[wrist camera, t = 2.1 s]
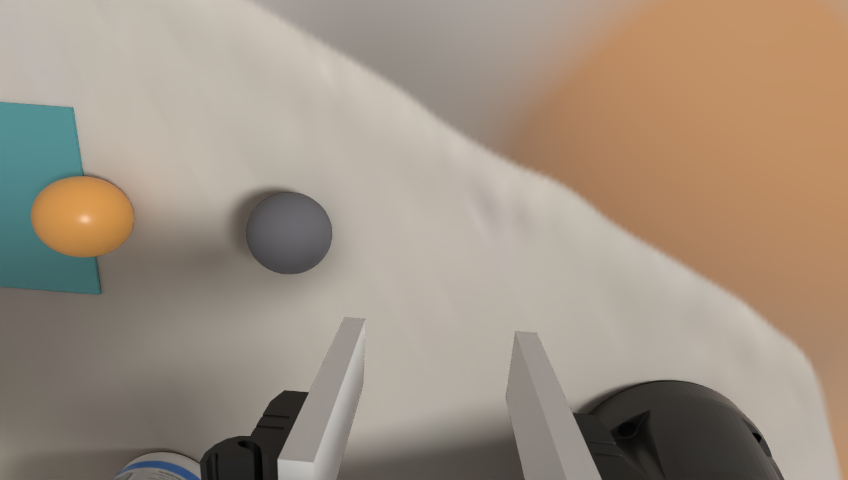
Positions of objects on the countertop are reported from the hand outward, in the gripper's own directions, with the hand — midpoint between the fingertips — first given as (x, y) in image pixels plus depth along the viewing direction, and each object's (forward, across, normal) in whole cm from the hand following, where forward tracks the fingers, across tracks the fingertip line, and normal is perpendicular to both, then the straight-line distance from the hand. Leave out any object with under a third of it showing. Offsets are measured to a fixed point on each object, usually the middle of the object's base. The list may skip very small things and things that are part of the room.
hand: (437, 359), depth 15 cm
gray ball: (+14, +10, 0) cm, 17 cm away
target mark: (+17, +33, 0) cm, 37 cm away
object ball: (+14, +24, 0) cm, 28 cm away
